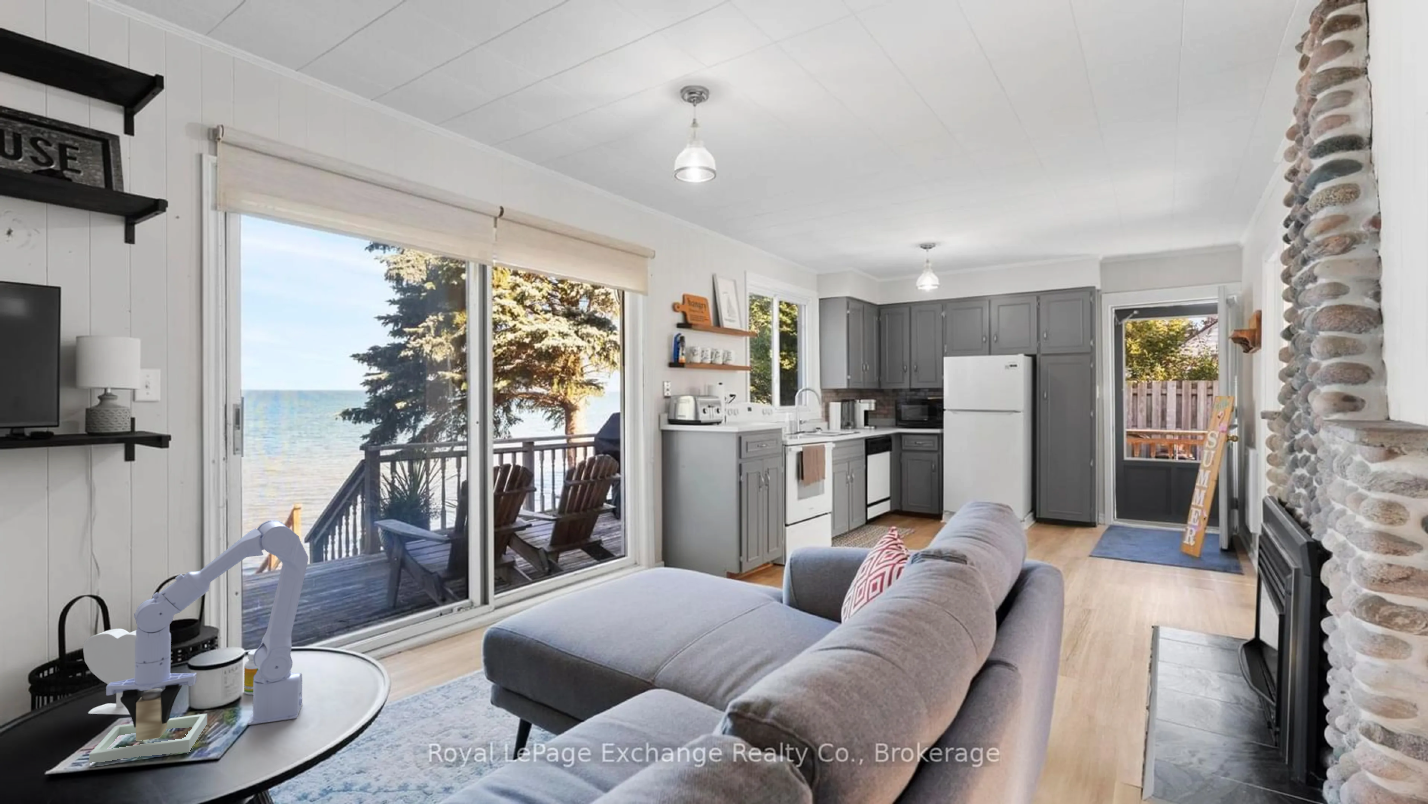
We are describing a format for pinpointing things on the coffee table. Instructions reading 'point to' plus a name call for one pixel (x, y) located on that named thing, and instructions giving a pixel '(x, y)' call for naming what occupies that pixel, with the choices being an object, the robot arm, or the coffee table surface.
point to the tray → (149, 749)
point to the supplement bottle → (249, 673)
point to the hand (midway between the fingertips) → (151, 723)
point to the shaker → (149, 715)
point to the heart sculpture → (111, 662)
